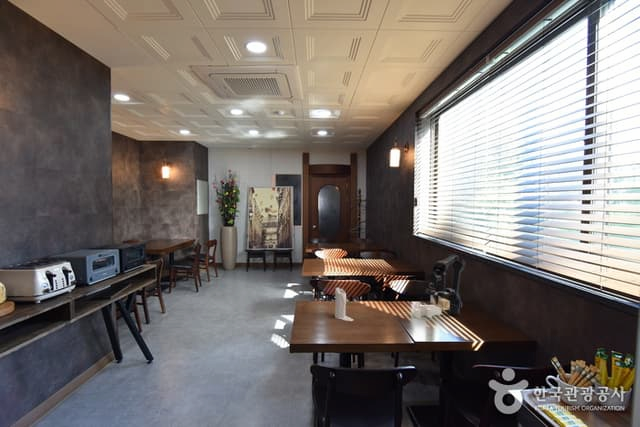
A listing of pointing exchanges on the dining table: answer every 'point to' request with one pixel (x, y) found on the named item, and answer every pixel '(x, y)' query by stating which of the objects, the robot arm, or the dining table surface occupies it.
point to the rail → (440, 302)
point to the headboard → (426, 310)
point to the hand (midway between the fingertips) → (439, 304)
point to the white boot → (341, 305)
